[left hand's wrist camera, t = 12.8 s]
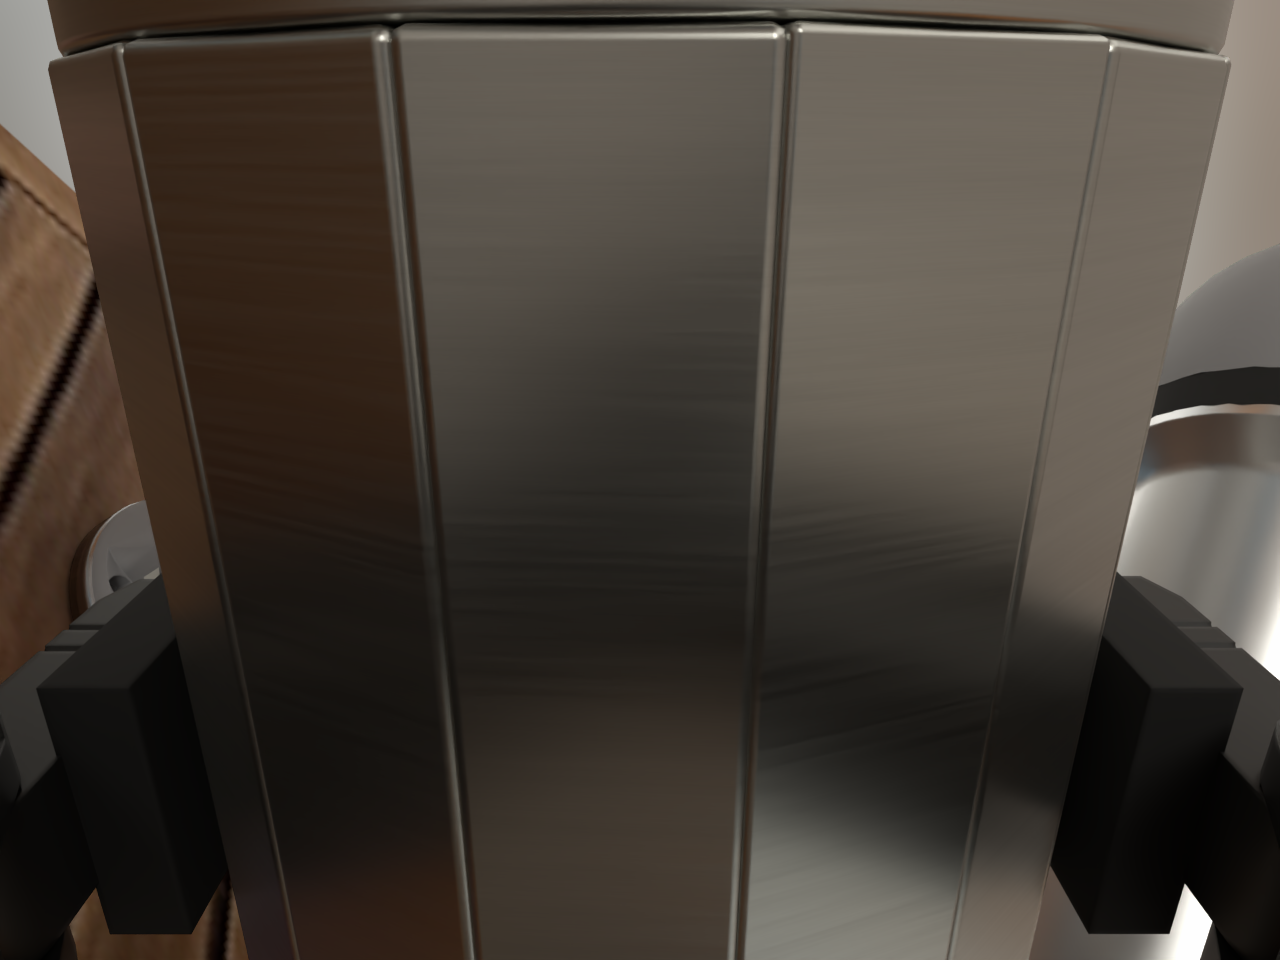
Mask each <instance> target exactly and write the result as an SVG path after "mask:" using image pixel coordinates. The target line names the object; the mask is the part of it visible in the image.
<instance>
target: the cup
mask: <svg viewBox="0 0 1280 960" xmlns="http://www.w3.org/2000/svg"><path fill="white" fill-rule="evenodd" d="M47 1H48V5H49V10H50V14H51V19H52V23H53V28H54V32H55V37H56V41H57V45H58V49H59V51H60V52H61V54H62V55H63V57H61V58H58V59H55V60H53V61H50V63H49V68H48V71H49V76H50V80H51V85H52V89H53V93H54V98H55V102H56V106H57V111H58V115H59V120H60V124H61V129H62V133H63V138H64V142H65V146H66V151H67V155H68V160H69V164H70V169H71V173H72V178H73V182H74V187H75V191H76V195H77V200H78V204H79V209H80V213H81V218H82V222H83V226H84V231H85V235H86V240H87V244H88V249H89V253H90V257H91V262H92V266H93V271H94V275H95V280H96V284H97V288H98V293H99V297H100V302H101V306H102V311H103V315H104V319H105V324H106V328H107V333H108V337H109V342H110V346H111V350H112V355H113V359H114V364H115V368H116V373H117V377H118V381H119V386H120V390H121V395H122V399H123V404H124V408H125V412H126V417H127V421H128V426H129V430H130V435H131V439H132V443H133V448H134V452H135V457H136V461H137V466H138V470H139V474H140V479H141V483H142V488H143V492H144V497H145V501H146V505H147V510H148V514H149V519H150V523H151V528H152V532H153V536H154V541H155V545H156V550H157V554H158V559H159V563H160V567H161V572H162V576H163V581H164V585H165V590H166V594H167V598H168V603H169V607H170V612H171V616H172V621H173V625H174V630H175V634H176V638H177V643H178V647H179V652H180V656H181V661H182V665H183V669H184V674H185V678H186V683H187V687H188V692H189V696H190V700H191V705H192V709H193V714H194V718H195V723H196V727H197V731H198V736H199V740H200V745H201V749H202V754H203V758H204V762H205V767H206V771H207V776H208V780H209V785H210V789H211V793H212V798H213V802H214V807H215V811H216V816H217V820H218V824H219V829H220V833H221V838H222V842H223V847H224V851H225V855H226V860H227V864H228V869H229V873H230V878H231V882H232V886H233V891H234V895H235V900H236V904H237V909H238V913H239V917H240V922H241V926H242V931H243V935H244V940H245V944H246V948H247V953H248V957H249V960H1029V956H1030V952H1031V947H1032V943H1033V938H1034V934H1035V930H1036V925H1037V921H1038V916H1039V912H1040V908H1041V903H1042V899H1043V894H1044V890H1045V885H1046V881H1047V877H1048V872H1049V868H1050V863H1051V859H1052V855H1053V850H1054V846H1055V841H1056V837H1057V832H1058V828H1059V824H1060V819H1061V815H1062V810H1063V806H1064V801H1065V797H1066V793H1067V788H1068V784H1069V779H1070V775H1071V771H1072V766H1073V762H1074V757H1075V753H1076V748H1077V744H1078V740H1079V735H1080V731H1081V726H1082V722H1083V718H1084V713H1085V709H1086V704H1087V700H1088V695H1089V691H1090V687H1091V682H1092V678H1093V673H1094V669H1095V665H1096V660H1097V656H1098V651H1099V647H1100V642H1101V638H1102V634H1103V629H1104V625H1105V620H1106V616H1107V612H1108V607H1109V603H1110V598H1111V594H1112V589H1113V585H1114V581H1115V576H1116V572H1117V567H1118V563H1119V558H1120V554H1121V550H1122V545H1123V541H1124V536H1125V532H1126V528H1127V523H1128V519H1129V514H1130V510H1131V505H1132V501H1133V497H1134V492H1135V488H1136V483H1137V479H1138V475H1139V470H1140V466H1141V461H1142V457H1143V452H1144V448H1145V444H1146V439H1147V435H1148V430H1149V426H1150V422H1151V417H1152V413H1153V408H1154V404H1155V399H1156V395H1157V391H1158V386H1159V382H1160V377H1161V373H1162V368H1163V364H1164V360H1165V355H1166V351H1167V346H1168V342H1169V338H1170V333H1171V329H1172V324H1173V320H1174V315H1175V311H1176V307H1177V302H1178V298H1179V293H1180V289H1181V285H1182V280H1183V276H1184V271H1185V267H1186V262H1187V258H1188V254H1189V249H1190V245H1191V240H1192V236H1193V231H1194V227H1195V223H1196V218H1197V214H1198V209H1199V205H1200V200H1201V196H1202V192H1203V187H1204V183H1205V178H1206V174H1207V170H1208V165H1209V161H1210V156H1211V152H1212V148H1213V143H1214V139H1215V134H1216V130H1217V125H1218V121H1219V117H1220V112H1221V108H1222V103H1223V99H1224V95H1225V90H1226V86H1227V81H1228V77H1229V72H1230V68H1231V62H1230V58H1229V57H1226V56H1224V55H1218V54H1219V52H1220V51H1221V49H1222V48H1223V46H1224V44H1225V40H1226V35H1227V31H1228V26H1229V22H1230V17H1231V12H1232V8H1233V4H1234V0H47Z"/></svg>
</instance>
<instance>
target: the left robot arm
mask: <svg viewBox="0 0 1280 960" xmlns="http://www.w3.org/2000/svg"><path fill="white" fill-rule="evenodd" d="M1235 644H1236V642H1234V641H1233V640H1232V639H1231V638H1230V637H1229V636H1227V635H1226V634H1225V633H1224V632H1223V631H1222V630H1220V629H1219V628H1218V627H1212V625H1211V621H1210V620H1209V619H1208V618H1206V617H1205V616H1204V615H1203V614H1202V613H1200V612H1199V611H1198V610H1197V609H1196V608H1195V607H1193V606H1192V605H1191V604H1190V603H1189V602H1188V601H1186V600H1185V599H1184V598H1183V597H1181V596H1179V595H1177V594H1175V593H1173V592H1172V591H1170V590H1168V589H1166V588H1164V587H1162V586H1160V585H1158V584H1156V583H1154V582H1152V581H1150V580H1148V579H1146V578H1144V577H1142V576H1121V575H1120V574H1119V573H1118V572H1116V576H1115V581H1114V585H1113V589H1112V594H1111V598H1110V603H1109V607H1108V612H1107V616H1106V620H1105V625H1104V629H1103V634H1102V638H1101V642H1100V647H1099V651H1098V656H1097V660H1096V665H1095V669H1094V673H1093V678H1092V682H1091V687H1090V691H1089V695H1088V700H1087V704H1086V709H1085V713H1084V718H1083V722H1082V726H1081V731H1080V735H1079V740H1078V744H1077V748H1076V753H1075V757H1074V762H1073V766H1072V771H1071V775H1070V779H1069V784H1068V788H1067V793H1066V797H1065V801H1064V806H1063V810H1062V815H1061V819H1060V824H1059V828H1058V832H1057V837H1056V841H1055V846H1054V850H1053V855H1052V859H1051V863H1050V866H1051V868H1052V870H1053V872H1054V873H1055V875H1056V877H1057V879H1058V881H1059V882H1060V884H1061V886H1062V888H1063V889H1064V891H1065V893H1066V895H1067V897H1068V898H1069V900H1070V902H1071V904H1072V906H1073V907H1074V909H1075V911H1076V913H1077V915H1078V916H1079V918H1080V920H1081V922H1082V923H1083V925H1084V927H1085V929H1086V931H1087V932H1088V934H1170V931H1171V928H1172V925H1173V921H1174V918H1175V915H1176V911H1177V908H1178V905H1179V901H1180V898H1181V895H1182V891H1183V888H1184V885H1186V886H1187V887H1188V889H1189V890H1190V891H1191V893H1192V894H1193V896H1194V897H1195V898H1196V900H1197V901H1198V902H1199V904H1200V905H1201V907H1202V908H1203V909H1204V911H1205V912H1206V913H1207V915H1208V916H1209V918H1210V919H1211V920H1212V923H1211V926H1210V929H1209V933H1208V936H1207V939H1206V942H1205V945H1204V948H1203V951H1202V954H1201V957H1200V960H1280V680H1279V679H1278V678H1276V677H1275V676H1274V675H1273V674H1272V673H1271V672H1269V671H1268V670H1267V669H1266V668H1265V667H1264V666H1262V665H1261V664H1260V663H1259V662H1258V661H1257V660H1255V659H1254V658H1253V657H1252V656H1251V655H1250V654H1248V653H1247V652H1246V651H1245V650H1244V649H1243V648H1236V645H1235ZM227 869H228V864H227V860H226V855H225V851H224V847H223V842H222V838H221V833H220V829H219V824H218V820H217V816H216V811H215V807H214V802H213V798H212V793H211V789H210V785H209V780H208V776H207V771H206V767H205V762H204V758H203V754H202V749H201V745H200V740H199V736H198V731H197V727H196V723H195V718H194V714H193V709H192V705H191V700H190V696H189V692H188V687H187V683H186V678H185V674H184V669H183V665H182V661H181V656H180V652H179V647H178V643H177V638H176V634H175V630H174V625H173V621H172V616H171V612H170V607H169V603H168V598H167V594H166V590H165V585H164V581H163V576H162V573H161V574H160V575H158V576H157V577H156V578H155V579H139V580H137V581H135V582H133V583H131V584H129V585H127V586H125V587H123V588H121V589H119V590H117V591H115V592H113V593H111V594H109V595H107V596H105V597H103V598H101V599H100V600H98V601H97V602H95V603H94V604H93V605H92V606H91V607H90V608H89V609H87V610H86V611H85V612H84V613H83V614H82V615H80V616H79V617H78V618H77V619H76V620H75V621H73V622H72V623H71V624H70V625H69V630H63V631H62V632H61V633H60V634H58V635H57V636H56V637H55V638H54V639H53V640H51V641H50V642H49V643H48V644H47V645H46V646H45V651H39V652H38V653H36V654H35V655H34V656H33V657H32V658H31V659H29V660H28V661H27V662H26V663H25V664H24V665H23V666H21V667H20V668H19V669H18V670H17V671H16V672H14V673H13V674H12V675H11V676H10V677H9V678H7V679H6V680H5V681H4V682H3V683H2V684H1V685H0V960H78V959H77V952H76V945H75V942H74V939H73V936H72V933H71V929H70V926H69V924H70V922H71V921H72V920H73V918H74V917H75V915H76V914H77V913H78V911H79V910H80V908H81V907H82V906H83V904H84V903H85V902H86V900H87V899H88V897H89V896H90V895H91V893H92V892H93V890H94V889H95V888H96V889H97V892H98V896H99V899H100V902H101V906H102V909H103V912H104V915H105V919H106V922H107V925H108V929H109V932H110V934H192V932H193V930H194V928H195V927H196V925H197V923H198V921H199V919H200V918H201V916H202V914H203V912H204V911H205V909H206V907H207V905H208V903H209V902H210V900H211V898H212V896H213V894H214V893H215V891H216V889H217V887H218V886H219V884H220V882H221V880H222V878H223V877H224V875H225V873H226V871H227Z"/></svg>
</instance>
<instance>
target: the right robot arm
mask: <svg viewBox="0 0 1280 960" xmlns="http://www.w3.org/2000/svg"><path fill="white" fill-rule="evenodd" d="M1117 572H1118V573H1119V574H1120V575H1121V576H1142V577H1144V578H1146V579H1148V580H1150V581H1152V582H1154V583H1156V584H1158V585H1160V586H1162V587H1164V588H1166V589H1168V590H1170V591H1172V592H1173V593H1175V594H1177V595H1179V596H1181V597H1183V598H1184V599H1185V600H1186V601H1188V602H1189V603H1190V604H1191V605H1192V606H1193V607H1195V608H1196V609H1197V610H1198V611H1199V612H1200V613H1202V614H1203V615H1204V616H1205V617H1206V618H1208V619H1209V620H1210V621H1211V625H1212V627H1218V628H1219V629H1220V630H1222V631H1223V632H1224V633H1225V634H1226V635H1227V636H1229V637H1230V638H1231V639H1232V640H1233V641H1234V642H1236V644H1235V645H1236V648H1243V649H1244V650H1245V651H1246V652H1247V653H1248V654H1250V655H1251V656H1252V657H1253V658H1254V659H1255V660H1257V661H1258V662H1259V663H1260V664H1261V665H1262V666H1264V667H1265V668H1266V669H1267V670H1268V671H1269V672H1271V673H1272V674H1273V675H1274V676H1275V677H1276V678H1278V679H1279V680H1280V244H1278V245H1275V246H1273V247H1270V248H1268V249H1265V250H1262V251H1260V252H1257V253H1255V254H1252V255H1250V256H1247V257H1245V258H1243V259H1241V260H1240V261H1238V262H1236V263H1234V264H1233V265H1231V266H1229V267H1227V268H1226V269H1224V270H1222V271H1221V272H1219V273H1217V274H1215V275H1214V276H1212V277H1211V278H1210V279H1209V280H1208V281H1206V282H1205V283H1204V284H1203V285H1202V286H1200V287H1199V288H1198V289H1197V290H1196V291H1194V292H1193V293H1192V294H1191V295H1190V296H1188V297H1187V298H1186V299H1185V300H1184V302H1183V303H1182V304H1181V305H1180V306H1179V307H1178V308H1177V309H1176V311H1175V315H1174V320H1173V324H1172V329H1171V333H1170V338H1169V342H1168V346H1167V351H1166V355H1165V360H1164V364H1163V368H1162V373H1161V377H1160V382H1159V386H1158V391H1157V395H1156V399H1155V404H1154V408H1153V413H1152V417H1151V422H1150V426H1149V430H1148V435H1147V439H1146V444H1145V448H1144V452H1143V457H1142V461H1141V466H1140V470H1139V475H1138V479H1137V483H1136V488H1135V492H1134V497H1133V501H1132V505H1131V510H1130V514H1129V519H1128V523H1127V528H1126V532H1125V536H1124V541H1123V545H1122V550H1121V554H1120V558H1119V563H1118V567H1117ZM161 573H162V572H161V567H160V563H159V559H158V554H157V550H156V545H155V541H154V536H153V532H152V528H151V523H150V519H149V514H148V510H147V505H146V501H145V500H143V501H140V502H137V503H134V504H131V505H129V506H127V507H125V508H123V509H121V510H120V511H118V512H117V513H115V514H114V515H112V516H111V517H109V518H108V519H106V520H105V521H103V522H102V523H100V524H99V525H97V526H96V527H95V528H93V529H92V530H91V531H90V532H89V533H88V534H87V536H86V537H85V538H84V539H83V541H82V542H81V544H80V546H79V547H78V549H77V551H76V554H75V556H74V559H73V562H72V566H71V570H70V578H69V598H70V607H71V612H72V617H73V621H75V620H76V619H77V618H78V617H79V616H80V615H82V614H83V613H84V612H85V611H86V610H87V609H89V608H90V607H91V606H92V605H93V604H94V603H95V602H97V601H98V600H100V599H101V598H103V597H105V596H107V595H109V594H111V593H113V592H115V591H117V590H119V589H121V588H123V587H125V586H127V585H129V584H131V583H133V582H135V581H137V580H139V579H155V578H156V577H157V576H158V575H160V574H161ZM1211 923H1212V920H1211V919H1210V918H1209V916H1208V915H1207V913H1206V912H1205V911H1204V909H1203V908H1202V907H1201V905H1200V904H1199V902H1198V901H1197V900H1196V898H1195V897H1194V896H1193V894H1192V893H1191V891H1190V890H1189V889H1188V887H1187V886H1186V885H1184V888H1183V891H1182V895H1181V898H1180V901H1179V905H1178V908H1177V911H1176V915H1175V918H1174V921H1173V925H1172V928H1171V931H1170V934H1088V932H1087V931H1086V929H1085V927H1084V925H1083V923H1082V922H1081V920H1080V918H1079V916H1078V915H1077V913H1076V911H1075V909H1074V907H1073V906H1072V904H1071V902H1070V900H1069V898H1068V897H1067V895H1066V893H1065V891H1064V889H1063V888H1062V886H1061V884H1060V882H1059V881H1058V879H1057V877H1056V875H1055V873H1054V872H1053V870H1052V868H1051V866H1050V868H1049V872H1048V877H1047V881H1046V885H1045V890H1044V894H1043V899H1042V903H1041V908H1040V912H1039V916H1038V921H1037V925H1036V930H1035V934H1034V938H1033V943H1032V947H1031V952H1030V956H1029V960H1200V957H1201V954H1202V951H1203V948H1204V945H1205V942H1206V939H1207V936H1208V933H1209V929H1210V926H1211Z"/></svg>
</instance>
